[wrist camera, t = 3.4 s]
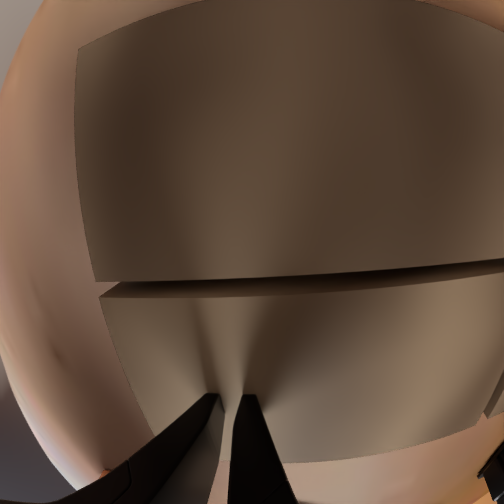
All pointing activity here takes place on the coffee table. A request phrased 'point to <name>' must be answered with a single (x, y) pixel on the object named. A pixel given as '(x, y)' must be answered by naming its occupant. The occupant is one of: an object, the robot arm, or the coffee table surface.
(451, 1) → the coffee table surface
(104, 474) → the whiskey bottle
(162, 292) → the loose plank
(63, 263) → the coffee table surface
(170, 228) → the laid planks
